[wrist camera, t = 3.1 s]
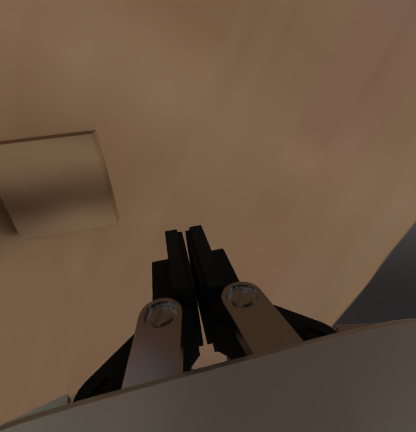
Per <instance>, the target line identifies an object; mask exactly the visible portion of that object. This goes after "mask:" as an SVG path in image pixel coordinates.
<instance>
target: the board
mask: <svg viewBox="0 0 416 432" xmlns="http://www.w3.org/2000/svg"><path fill="white" fill-rule="evenodd" d="M0 198H1V200H2V202H3V204H4V206H5V208H6V210H7V212H8V214H9V216H10V218H11V220H12V222H13V224H14V226H15V228H16V230H17V232H18V234H19V236H20V238H21V240H22V241H27V240H32V239H38V238H44V237H49V236H55V235H60V234H66V233H72V232H77V231H83V230H89V229H94V228H100V227H106V226H111V225H117V224H118V219H119V211H118V208H117V204H116V201H115V197H114V193H113V190H112V186H111V183H110V179H109V175H108V172H107V168H106V165H105V161H104V157H103V154H102V150H101V147H100V143H99V139H98V136H97V132H96V130H93V131H85V132H77V133H68V134H60V135H52V136H43V137H35V138H27V139H18V140H10V141H2V142H0Z"/></svg>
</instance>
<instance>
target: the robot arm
mask: <svg viewBox="0 0 416 432" xmlns="http://www.w3.org/2000/svg"><path fill="white" fill-rule="evenodd" d="M185 232H186V239H187V246H188V253H189V259H188V255H187V251H186V247H185V243H184V239H183V234H182V232H177V229H176V230H170V231H165V236H166V244H167V253H168V259H166V260H161V261H156V262H152V288H153V301H152V302H150V303H148V304H147V305H146V306H145V307H144V308H143V309H142V310H141V312H140V314H139V317H138V322H137V326H136V330H135V334H134V335H133V336H132V337H131V338H130V339H129V340H128V341H127V342H126V343H125V344H124V345H123V346H122V347H121V348H120V349H119V350H118V351H116V352H115V353H114V354H113V355H112V356H111V357H110V358H109V359H108V360H107V361H106V362H105V363H104V364H103V365H102V366H101V367H100V368H99V369H98V370H97V371H96V372H95V373H94V374H93V375H92V376H91V377H90V378H89V379H88V380H87V381H86V382H85V383H84V384H83V386H82V387H81V388H80V389H79V390H78V392H77V394H76V395H74V396H72V397H69V395H68V394H67V395H64V396H62V397H60V398H58V399H56V400H54V401H52V402H50V403H47V404H45V405H43V406H41V407H39V408H37V409H35V410H32V411H30V412H28V413H26V414H24V415H22V416H20V417H17V418H15V419H13V420H11V421H9V422H7V423H5V424H3V425H0V432H416V319H405V320H396V321H389V322H384V323H379V324H351V325H337V326H336V329H333V328H331V327H330V326H328V325H326V324H324V323H322V322H319V321H317V320H314V319H311V318H308V317H306V316H303V315H300V314H297V313H295V312H292V311H289V310H286V309H284V308H281V307H278V306H275V305H273V304H272V303H271V302H270V300H269V299H268V298H267V297H266V296H265V294H264V293H263V292H262V291H261V290H260V289H259V288H258V287H257V286H256V285H254V284H252V283H248V282H239V280H238V278H237V276H236V274H235V272H234V270H233V268H232V266H231V264H230V262H229V259H228V257H227V255H226V253H225V251H224V250H223V249H218V250H213V251H211V248H210V246H209V243H208V241H207V239H206V236H205V234H204V231H203V229H202V226H201V225H199V226H193V227H189V230H188V231H185ZM189 260H190V263H189ZM197 302H198V304H197ZM198 306H199V310H200V314H201V319H202V323H203V327H204V331H205V336H206V340H207V344H211V343H213V346H214V350H215V352H217V351H218V352H220V353H222V354H224V355H226V356H227V361H225V362H221V363H218V364H214V365H210V366H206V367H202V368H198V369H195V370H193V369H192V366H193V364H194V363H195V361H196V360H197V358H198V357H199V356H200V352H199V346H203V339H202V332H201V325H200V318H199V311H198Z"/></svg>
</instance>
